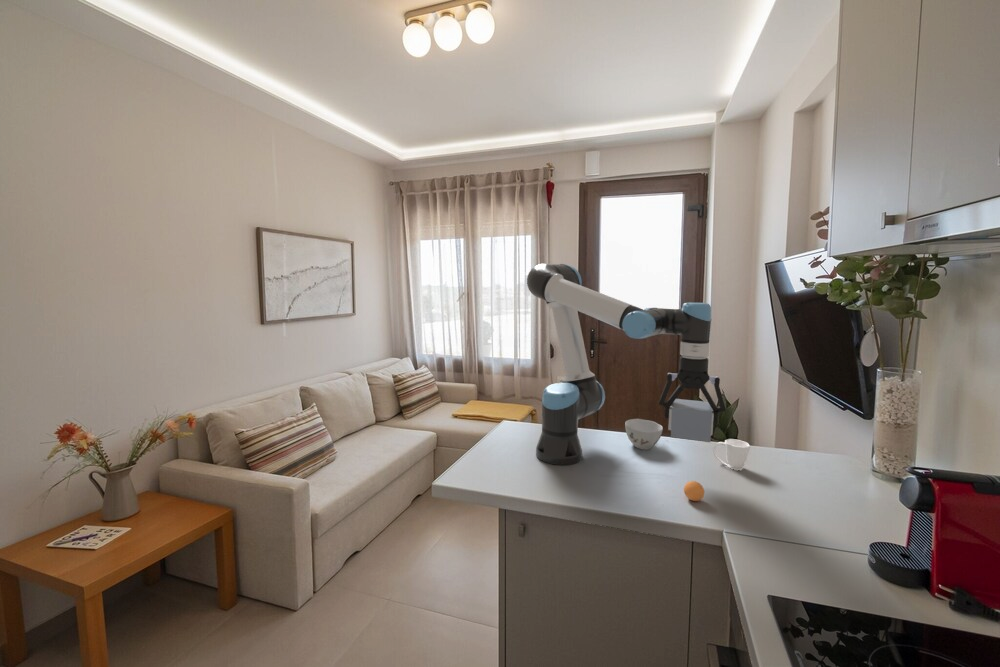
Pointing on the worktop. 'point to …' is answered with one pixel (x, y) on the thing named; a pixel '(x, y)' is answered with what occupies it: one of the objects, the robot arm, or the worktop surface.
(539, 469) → the worktop surface
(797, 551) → the worktop surface
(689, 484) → the ball
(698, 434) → the matte grey cuboid
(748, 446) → the cup
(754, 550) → the worktop surface
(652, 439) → the teacup
